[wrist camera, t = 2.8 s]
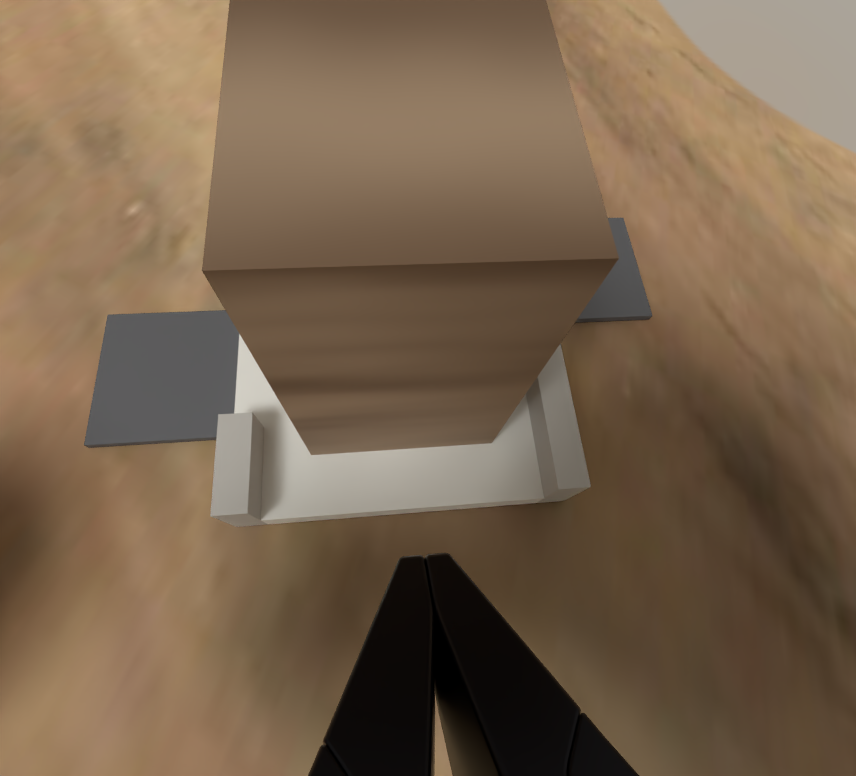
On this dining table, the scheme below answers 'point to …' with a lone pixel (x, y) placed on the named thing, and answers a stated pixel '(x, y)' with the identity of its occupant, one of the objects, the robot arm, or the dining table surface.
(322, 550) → the dining table surface
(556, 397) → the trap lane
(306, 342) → the walnut block
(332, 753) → the robot arm
